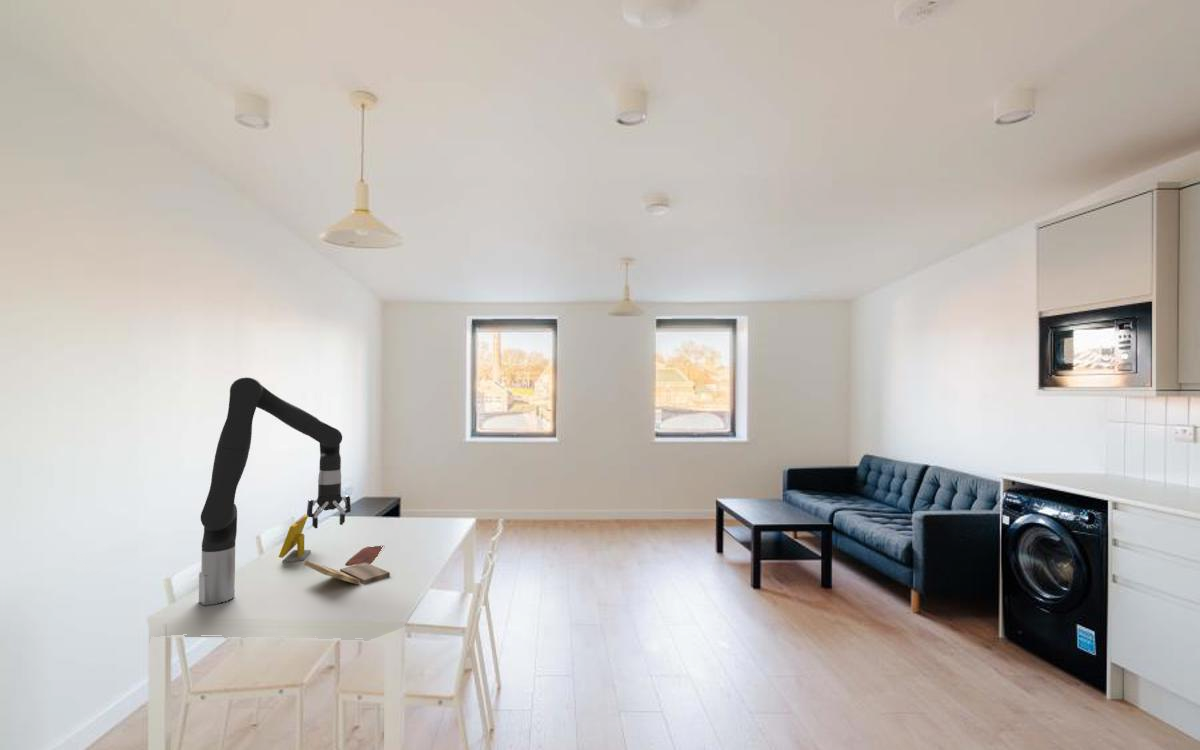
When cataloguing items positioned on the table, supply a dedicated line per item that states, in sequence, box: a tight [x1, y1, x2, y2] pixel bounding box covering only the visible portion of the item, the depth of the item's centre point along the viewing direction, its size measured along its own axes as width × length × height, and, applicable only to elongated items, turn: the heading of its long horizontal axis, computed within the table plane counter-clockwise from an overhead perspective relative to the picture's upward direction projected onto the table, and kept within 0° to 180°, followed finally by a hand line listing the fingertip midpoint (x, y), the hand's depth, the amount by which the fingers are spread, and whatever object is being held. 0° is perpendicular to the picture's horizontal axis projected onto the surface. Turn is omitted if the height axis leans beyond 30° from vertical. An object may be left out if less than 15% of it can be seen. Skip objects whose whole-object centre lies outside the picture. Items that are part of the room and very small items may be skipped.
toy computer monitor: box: [278, 513, 311, 563], centre depth 224 cm, size 20×8×16 cm, turn 14°
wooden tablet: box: [345, 545, 384, 567], centre depth 227 cm, size 27×10×2 cm, turn 7°
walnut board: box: [339, 562, 391, 585], centre depth 203 cm, size 10×18×2 cm, turn 51°
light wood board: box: [303, 560, 361, 585], centre depth 194 cm, size 14×16×2 cm
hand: (328, 526), depth 197 cm, fingers open, 8 cm apart
